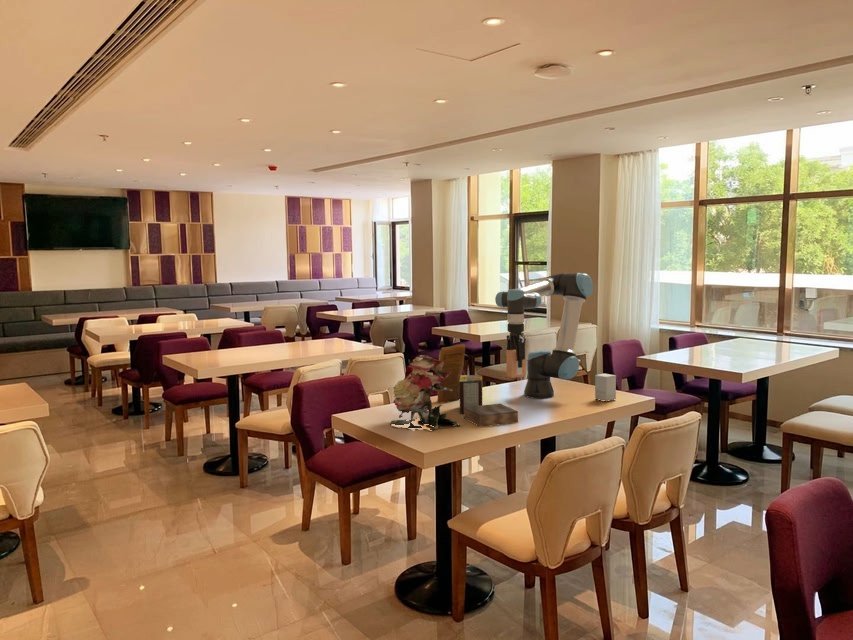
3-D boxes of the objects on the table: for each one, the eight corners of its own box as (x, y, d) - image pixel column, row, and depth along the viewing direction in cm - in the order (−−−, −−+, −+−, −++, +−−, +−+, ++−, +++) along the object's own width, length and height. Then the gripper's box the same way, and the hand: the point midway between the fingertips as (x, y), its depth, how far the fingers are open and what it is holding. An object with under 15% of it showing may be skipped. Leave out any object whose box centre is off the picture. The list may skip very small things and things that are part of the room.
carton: (519, 374, 293) (519, 349, 292) (525, 376, 288) (525, 350, 287) (506, 375, 291) (506, 350, 289) (511, 377, 286) (511, 351, 285)
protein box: (482, 407, 301) (482, 374, 300) (482, 414, 286) (482, 381, 284) (460, 406, 302) (460, 374, 300) (459, 414, 287) (459, 380, 285)
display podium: (500, 414, 286) (500, 403, 285) (517, 422, 271) (517, 411, 270) (464, 418, 279) (464, 407, 279) (480, 426, 264) (480, 415, 264)
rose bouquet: (419, 413, 289) (418, 349, 286) (466, 425, 268) (465, 355, 265) (375, 424, 271) (374, 355, 269) (422, 437, 250) (421, 362, 248)
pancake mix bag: (469, 398, 319) (469, 343, 317) (441, 404, 308) (440, 347, 305) (460, 396, 325) (460, 342, 322) (432, 402, 313) (431, 346, 310)
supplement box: (616, 400, 311) (616, 375, 310) (606, 402, 307) (606, 376, 306) (604, 397, 317) (604, 373, 316) (594, 399, 313) (594, 374, 312)
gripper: (499, 321, 294) (499, 371, 296) (518, 325, 277) (518, 377, 280) (513, 321, 297) (513, 369, 299) (533, 324, 280) (533, 376, 282)
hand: (516, 373), depth 289 cm, fingers closed on carton, 5 cm apart
